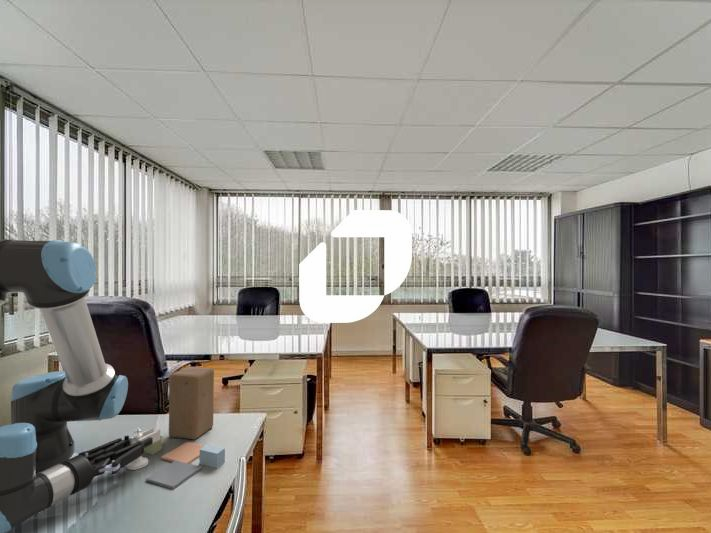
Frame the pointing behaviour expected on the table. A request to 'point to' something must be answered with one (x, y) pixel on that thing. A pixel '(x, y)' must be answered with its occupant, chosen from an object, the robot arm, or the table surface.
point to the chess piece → (141, 460)
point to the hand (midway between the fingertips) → (155, 433)
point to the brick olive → (154, 447)
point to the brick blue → (212, 456)
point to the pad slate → (173, 474)
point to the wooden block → (191, 402)
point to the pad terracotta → (184, 453)
